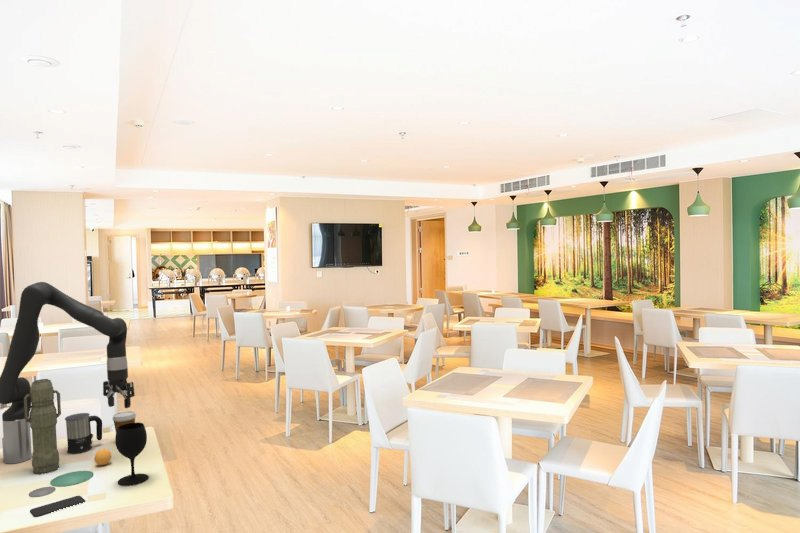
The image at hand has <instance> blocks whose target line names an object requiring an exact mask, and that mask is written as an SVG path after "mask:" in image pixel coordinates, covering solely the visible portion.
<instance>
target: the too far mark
mask: <svg viewBox="0 0 800 533" xmlns="http://www.w3.org/2000/svg"><path fill="white" fill-rule="evenodd" d="M56 488H57V487H56V486H45V487H40V488H36V489H33V490H32V491H30V492H29V493H28V496H29V497H31V498H40V497H44V496H48V495H50V494H52V493H54V492H55V491H56Z"/></svg>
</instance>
